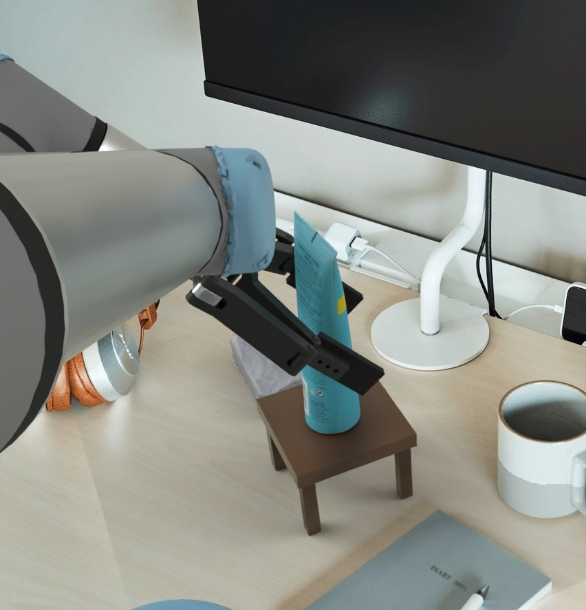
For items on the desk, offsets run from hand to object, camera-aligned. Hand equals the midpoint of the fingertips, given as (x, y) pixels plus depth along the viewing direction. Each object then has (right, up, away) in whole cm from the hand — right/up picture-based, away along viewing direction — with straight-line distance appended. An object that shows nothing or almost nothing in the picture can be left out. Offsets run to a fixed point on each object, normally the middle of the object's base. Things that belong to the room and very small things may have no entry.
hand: (362, 342), depth 78 cm
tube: (-3, -7, +4) cm, 9 cm away
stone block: (-10, -4, +21) cm, 24 cm away
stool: (-3, -13, +9) cm, 16 cm away
